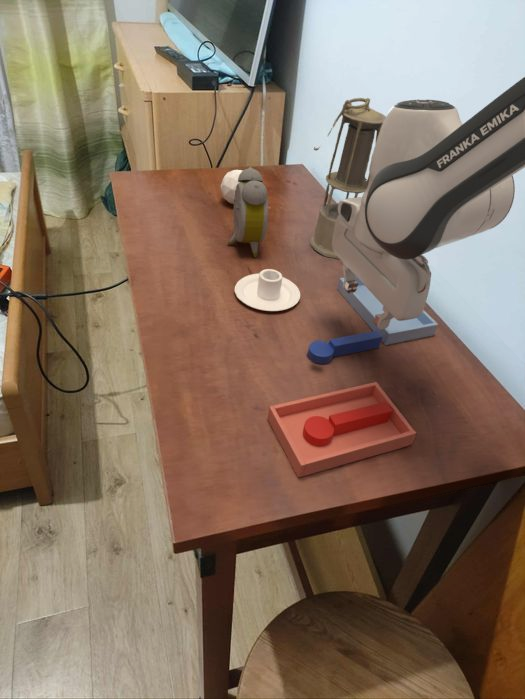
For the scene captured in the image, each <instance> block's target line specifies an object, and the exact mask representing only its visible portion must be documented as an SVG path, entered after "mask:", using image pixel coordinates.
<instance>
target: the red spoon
mask: <svg viewBox="0 0 525 699" xmlns="http://www.w3.org/2000/svg"><path fill="white" fill-rule="evenodd" d="M391 413H392V410H391V408H390V407H389V406H388V404H387V403H386V402H382V403H378V404H374V405H370V406H366V407H362V408H358V409H354V410H350V411H345V412H341V413H337V414H333V415H330V416H329V419H326V418H324V417H321V416H313V417H310V418H308V419H307V420H306V421H305V424H304V428H303V437H304V439H305V440H306V441H307V442H308V443H310V444H311V445H314V446H325V445H327V444H329V443H330V442H331V440H332V436H336V435H340V434H344V433H348V432H351V431H355V430H359V429H363V428H367V427H370V426H374V425H378V424H382V423H386V422H388V420H389V418H390V415H391Z"/></svg>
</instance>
